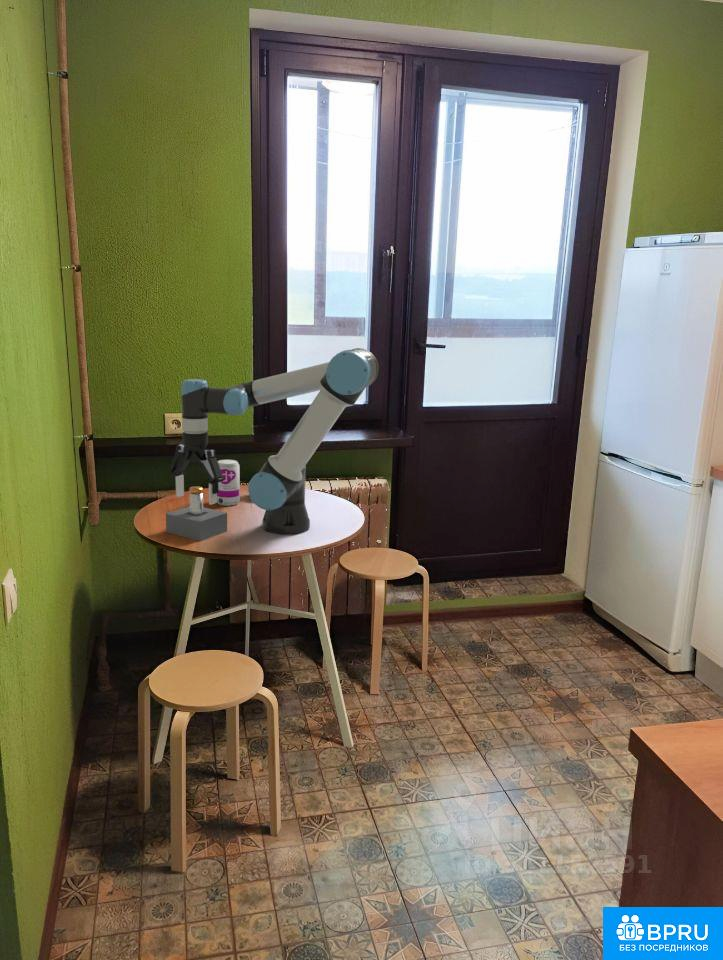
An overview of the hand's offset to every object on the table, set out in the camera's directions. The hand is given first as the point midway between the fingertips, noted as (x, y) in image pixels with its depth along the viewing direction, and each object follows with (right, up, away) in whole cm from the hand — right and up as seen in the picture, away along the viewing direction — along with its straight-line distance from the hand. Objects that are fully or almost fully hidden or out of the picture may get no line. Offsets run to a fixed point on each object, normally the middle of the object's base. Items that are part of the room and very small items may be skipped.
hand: (196, 499), depth 226 cm
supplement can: (+3, -2, +35) cm, 35 cm away
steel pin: (0, -10, +2) cm, 10 cm away
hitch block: (0, -10, +2) cm, 10 cm away
